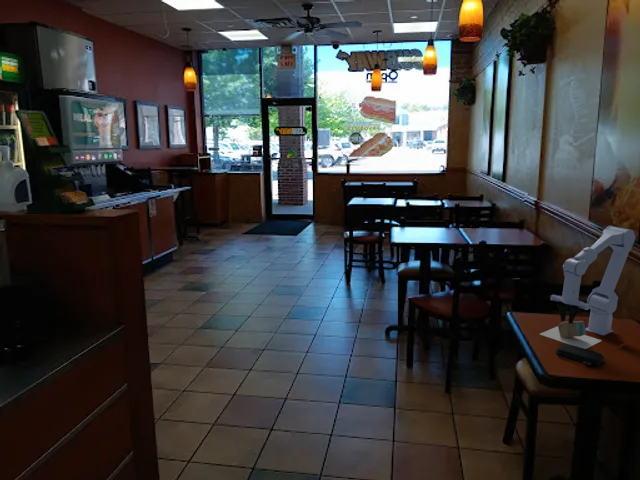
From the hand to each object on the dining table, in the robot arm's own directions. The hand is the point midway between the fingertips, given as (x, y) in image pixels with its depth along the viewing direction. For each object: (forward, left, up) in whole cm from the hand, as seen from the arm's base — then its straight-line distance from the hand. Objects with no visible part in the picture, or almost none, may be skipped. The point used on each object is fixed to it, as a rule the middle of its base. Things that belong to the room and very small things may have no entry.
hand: (566, 321), depth 203 cm
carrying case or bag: (+15, +13, -7) cm, 21 cm away
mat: (-1, +2, -7) cm, 7 cm away
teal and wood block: (0, -1, -4) cm, 4 cm away
